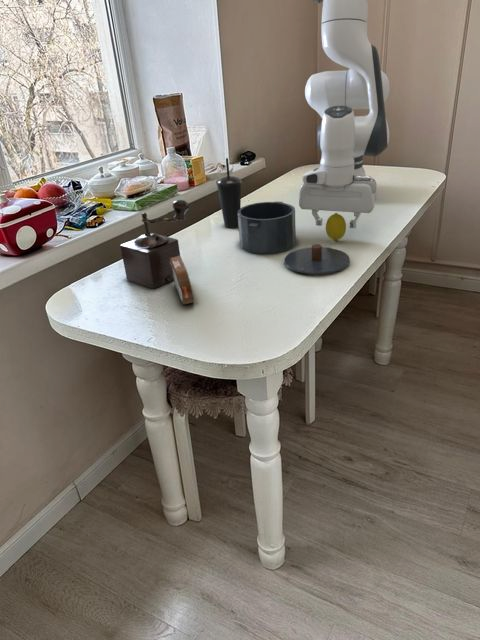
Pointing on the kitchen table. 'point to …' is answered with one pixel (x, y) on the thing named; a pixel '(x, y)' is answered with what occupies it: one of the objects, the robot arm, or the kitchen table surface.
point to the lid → (317, 260)
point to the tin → (182, 280)
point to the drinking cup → (230, 198)
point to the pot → (267, 227)
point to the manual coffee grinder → (152, 252)
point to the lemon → (335, 226)
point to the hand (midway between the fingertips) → (335, 226)
